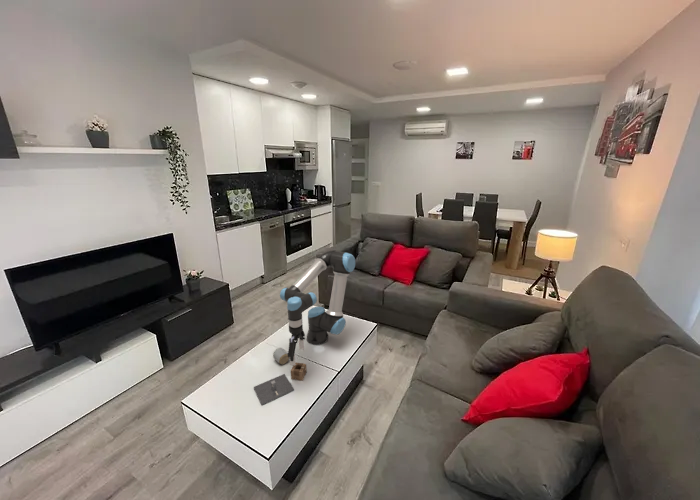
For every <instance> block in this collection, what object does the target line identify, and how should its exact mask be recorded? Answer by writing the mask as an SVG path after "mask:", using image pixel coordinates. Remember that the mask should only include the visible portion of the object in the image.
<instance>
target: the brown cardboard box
mask: <svg viewBox="0 0 700 500" xmlns="http://www.w3.org/2000/svg"><path fill="white" fill-rule="evenodd" d="M295 364H296V365H292V367H291V369H290V380H295V381H303V382H304V379H305V376H306V375H307V372H308V371H307V369H308V368H307V363H304V362H296V361H295Z"/></svg>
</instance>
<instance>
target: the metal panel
mask: <svg viewBox="0 0 700 500" xmlns="http://www.w3.org/2000/svg"><path fill="white" fill-rule="evenodd" d="M253 390H254V391H255V394H256V396H257V398H258V400H259V402H260V405H261V406H264V405H266V404H269V403H271V402H273V401H275V400H277V399H279V398H281V397H283V396H286V395H288V394H290V393H293V392H295V388H294V387H293V385H292V383H291V381H290V380H289V379H288V377H287V376H286V374H285V373H284V374H281V375H279V376H276V377H273V378H271V379H270V380H267V381H264V382H262V383H260V384H259V383H258V384H257V385H255V386H253Z"/></svg>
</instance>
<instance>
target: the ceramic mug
mask: <svg viewBox="0 0 700 500" xmlns="http://www.w3.org/2000/svg"><path fill="white" fill-rule="evenodd" d="M272 357H273V359H274V360H276V361H277V363H278V364H280V365H286V364H287V363H288V361H290V357H288V352H287V351H286V350H285V349H284V348H283V347H278V348H276V349H275V350H274V351H273V353H272Z"/></svg>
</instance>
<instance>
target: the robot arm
mask: <svg viewBox="0 0 700 500" xmlns="http://www.w3.org/2000/svg"><path fill="white" fill-rule="evenodd" d="M355 267H356V258H355V256H354V255H353V254H352V253H349V252H345V251H338V250H334V249H330V250H327V251H325V252H322V253H321V254H320V255H318V256H317V257H316V258H315V259H314V262H313V263H312V264H311V265H310V267H309V268H307V269H306V270H305V272H303V273H302V274H301V275H300V277H299V278H298V279H296V280H295V282H293V284H291V286H289V287H284V288H282V289H281V290H280V293H279V297H280V300H283V301H285V302H286V303H287V304H286V305H287V306H286V309H287V316H288V317H287V320H288V321H287V322H288V332H289V333H290V334H291V337H289V339H288V342H289V343H288V352H287V353H288V357H290V359H289V364H290V366H293V365H296V364H295V362H296V354H295V352H296V347H297V344H298V350H300V351H304V350H305V346H304V340H306V341H307V343H309V344H310V345H314V346H315V345H316V346H317V345H324V343H326V342H327V341H328V340H329V333H330V334H333V335H339V334H340V333H342V331H343V330H344V328H345V326H346V319H345V318H344V313H343V307H344V306H343V304H344V298H345V293H346V288H347V283H348V282H347V281H348V280H347V279H348V276H349V275H351V272H353V271H354V270H355ZM327 268H332V272H333V274H334V275H333V282H332V288H331V289H332V290H331V292H330V293H331V295H330V300H329V307H328V309H327V310H326V308H325V307H323V306H316V307H315V306H314V305H315V304H316V303H317V300H318V299H317V296H316V294H315V293H314V292H312V291H311V292H307V293H303V292H304V291H305V290H306V289H307V288H308V287H309V286H310V284H311V283H312V282H314V280H315V279H316V278H317V277H318V276H319V275H320V274H321V273H322V272H323V271H325V270H327ZM313 306H314V307H313ZM311 307H312V308H311ZM309 308H310V309H309ZM308 309H309V310H308ZM306 310H308V313H307V324H308V330H307V334H306V335H305V332H304V327H303V326H304V325H303V323H304V322H303V313H304V312H305V311H306Z"/></svg>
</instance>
